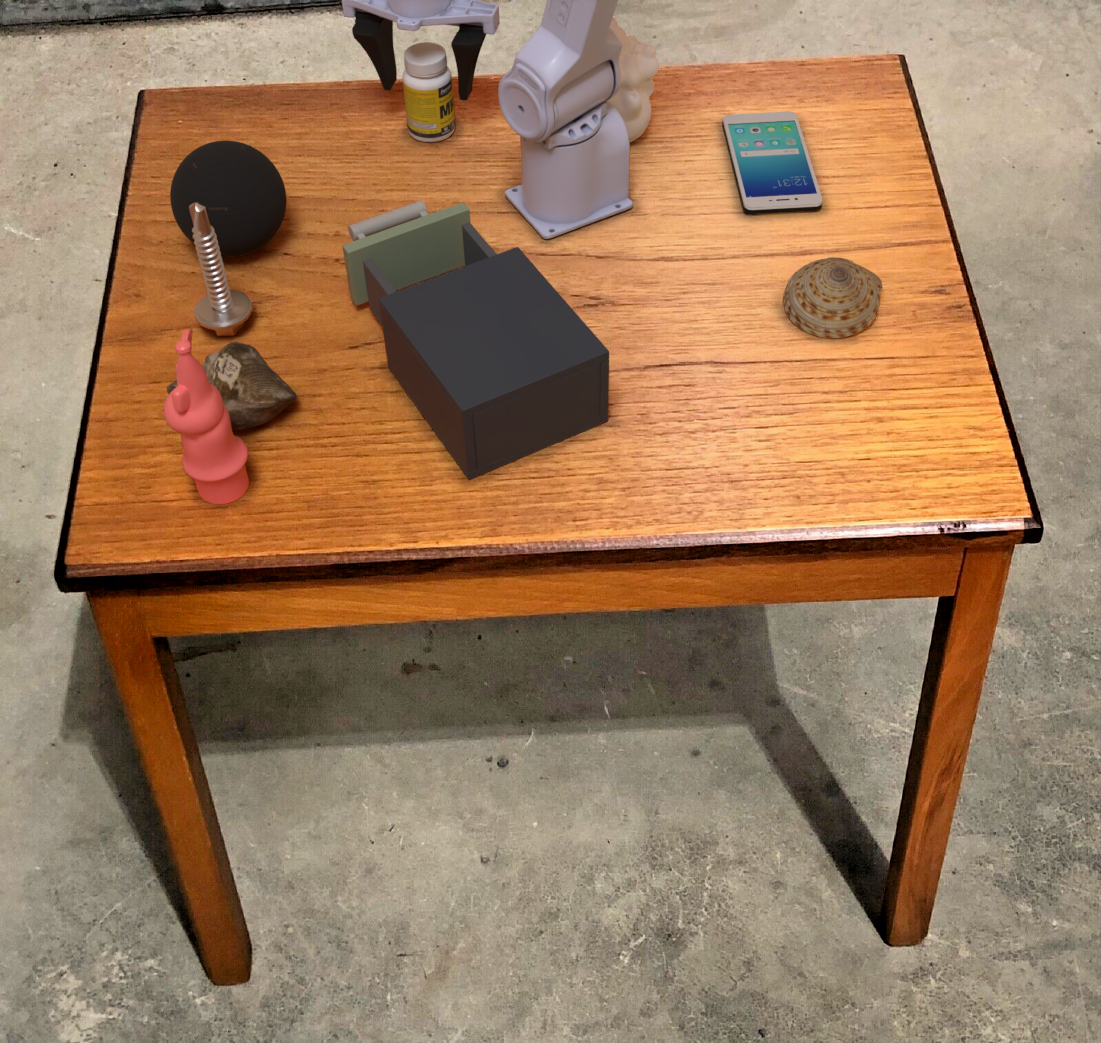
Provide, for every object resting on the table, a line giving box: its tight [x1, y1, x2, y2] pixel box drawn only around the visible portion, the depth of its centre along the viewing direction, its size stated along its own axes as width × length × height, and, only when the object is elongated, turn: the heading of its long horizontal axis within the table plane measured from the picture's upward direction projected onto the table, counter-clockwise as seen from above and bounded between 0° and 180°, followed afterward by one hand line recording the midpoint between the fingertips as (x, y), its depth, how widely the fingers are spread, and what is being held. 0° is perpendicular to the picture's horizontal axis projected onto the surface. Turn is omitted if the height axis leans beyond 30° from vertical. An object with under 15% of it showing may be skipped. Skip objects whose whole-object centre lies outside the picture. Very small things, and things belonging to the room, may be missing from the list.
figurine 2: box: [606, 17, 660, 143], centre depth 135 cm, size 7×7×12 cm
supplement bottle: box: [401, 41, 456, 143], centre depth 138 cm, size 5×5×8 cm
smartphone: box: [721, 110, 823, 215], centre depth 136 cm, size 8×1×15 cm
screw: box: [189, 202, 253, 337], centre depth 118 cm, size 13×5×5 cm
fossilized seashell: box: [166, 341, 298, 431], centre depth 115 cm, size 8×7×10 cm
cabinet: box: [379, 246, 610, 481], centre depth 114 cm, size 15×13×8 cm
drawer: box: [342, 199, 498, 326], centre depth 121 cm, size 18×11×6 cm, turn 29°
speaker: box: [169, 140, 287, 258], centre depth 126 cm, size 10×10×10 cm
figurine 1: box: [163, 328, 250, 505], centre depth 105 cm, size 5×5×15 cm
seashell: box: [782, 256, 883, 339], centre depth 122 cm, size 8×6×8 cm
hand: (428, 89), depth 138 cm, fingers open, 7 cm apart
